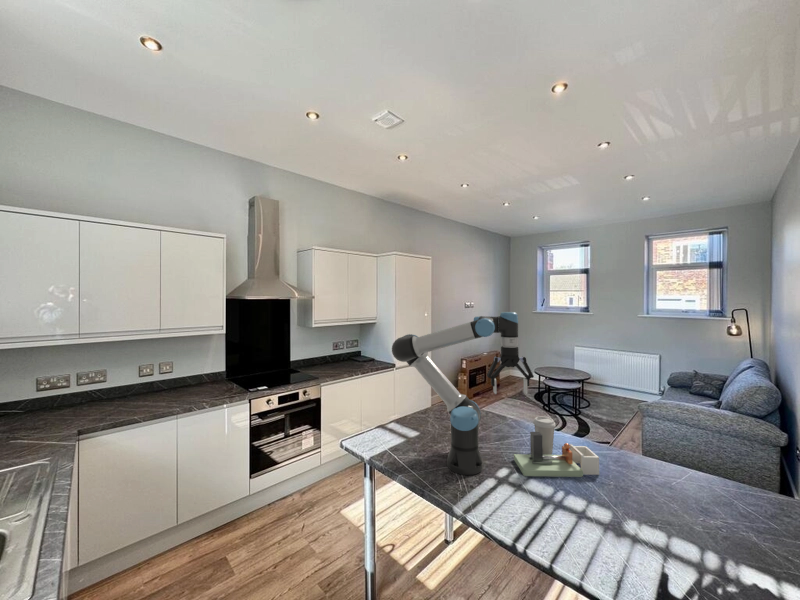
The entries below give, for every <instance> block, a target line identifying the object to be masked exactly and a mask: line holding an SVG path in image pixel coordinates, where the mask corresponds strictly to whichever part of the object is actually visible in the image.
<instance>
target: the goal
mask: <svg viewBox="0 0 800 600" xmlns="http://www.w3.org/2000/svg"><path fill="white" fill-rule="evenodd" d="M569 445H570V449H569V450H570V451H571V452H572V460H573V461H574V462H575V463H576V464H580V461H581V465H580V468H581V469H582V470H583V476H584V475H586V476H587V475H588V476H589V475H590V476H594V475H595V476H600V457H599V456H598V455H597V454H596V453H595V452H594V451H592V450H591V449H590V448H589V447H587V446H586V445H585V446H584V445H581V446H580V445H579V446H578V445H577V446H575V445H573V443H570V444H569Z"/></svg>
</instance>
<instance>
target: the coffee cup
mask: <svg viewBox="0 0 800 600" xmlns="http://www.w3.org/2000/svg"><path fill="white" fill-rule="evenodd" d="M532 423H533V424H534V425H533V426H534V432H540V433H541V435H542V447H543V455H553V452H554V451H553V450H554V436H555V428H556V425H557V424H556V422H555V421H554V419H553V418H551V417H548V416H540V415H539V416H536V417H534V419H533V421H532Z"/></svg>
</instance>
